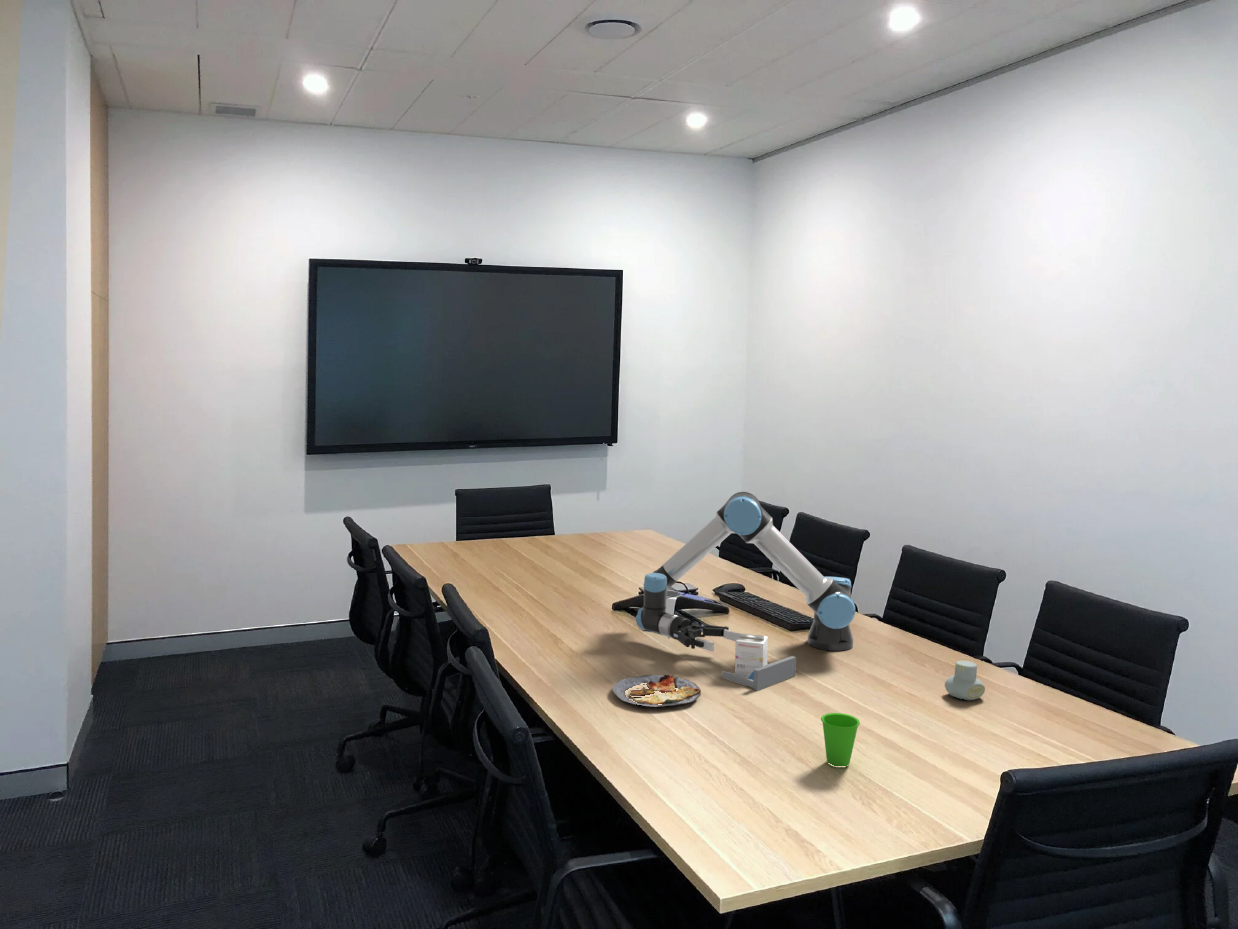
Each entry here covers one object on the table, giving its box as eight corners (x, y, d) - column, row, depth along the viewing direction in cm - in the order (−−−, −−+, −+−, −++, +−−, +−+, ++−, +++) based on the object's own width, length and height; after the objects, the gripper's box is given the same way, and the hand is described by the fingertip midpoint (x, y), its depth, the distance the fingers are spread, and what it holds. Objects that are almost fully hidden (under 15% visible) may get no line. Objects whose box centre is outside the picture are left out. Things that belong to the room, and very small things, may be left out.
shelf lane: (795, 676, 290) (796, 657, 290) (757, 691, 277) (758, 671, 276) (757, 665, 300) (758, 646, 299) (719, 678, 287) (720, 659, 286)
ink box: (767, 673, 293) (769, 630, 291) (762, 681, 285) (764, 638, 283) (739, 669, 296) (741, 627, 294) (734, 678, 288) (735, 634, 286)
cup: (814, 756, 233) (816, 713, 231) (850, 755, 234) (852, 712, 232) (825, 772, 224) (827, 727, 223) (862, 772, 225) (865, 727, 223)
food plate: (679, 677, 287) (680, 666, 286) (715, 706, 265) (715, 693, 265) (601, 688, 278) (601, 676, 277) (631, 718, 256) (631, 706, 256)
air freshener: (961, 704, 270) (963, 670, 269) (939, 695, 277) (941, 661, 276) (988, 699, 275) (991, 665, 274) (966, 689, 282) (968, 657, 281)
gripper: (700, 631, 320) (751, 646, 305) (649, 646, 303) (700, 662, 288) (701, 609, 319) (752, 623, 304) (650, 623, 302) (701, 638, 287)
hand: (727, 642), depth 296 cm, fingers open, 13 cm apart
